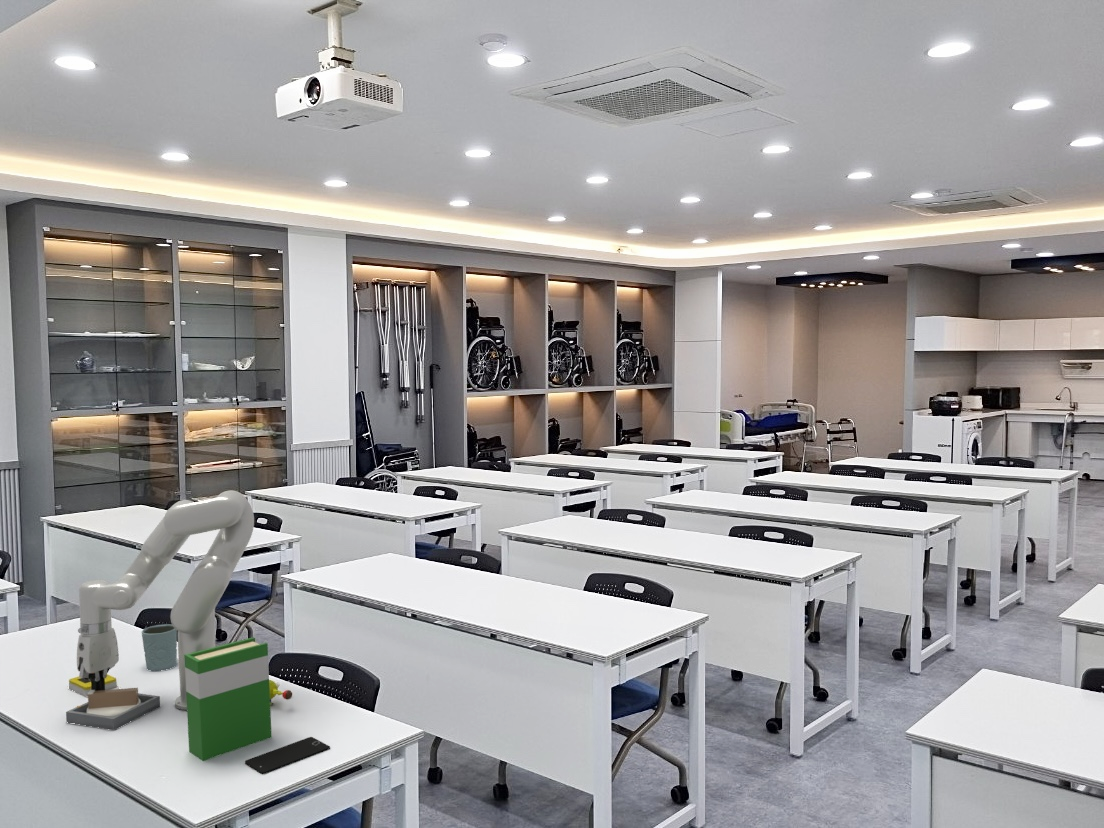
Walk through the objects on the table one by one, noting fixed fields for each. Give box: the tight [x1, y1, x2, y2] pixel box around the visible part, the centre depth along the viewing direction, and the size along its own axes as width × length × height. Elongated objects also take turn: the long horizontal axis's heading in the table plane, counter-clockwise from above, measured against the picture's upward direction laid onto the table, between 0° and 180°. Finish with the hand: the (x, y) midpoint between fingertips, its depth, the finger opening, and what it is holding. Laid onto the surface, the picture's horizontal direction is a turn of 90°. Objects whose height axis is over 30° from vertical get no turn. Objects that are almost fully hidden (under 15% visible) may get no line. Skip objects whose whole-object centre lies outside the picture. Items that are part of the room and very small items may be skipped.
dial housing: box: [65, 692, 161, 731], centre depth 241 cm, size 16×16×3 cm
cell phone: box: [244, 736, 331, 775], centre depth 214 cm, size 9×18×1 cm, turn 136°
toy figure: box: [269, 679, 293, 707], centre depth 245 cm, size 18×6×7 cm, turn 59°
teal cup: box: [141, 623, 178, 672], centre depth 278 cm, size 10×10×12 cm
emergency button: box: [68, 673, 120, 699], centre depth 261 cm, size 9×4×15 cm
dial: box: [87, 687, 141, 717], centre depth 240 cm, size 13×13×6 cm
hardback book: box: [184, 636, 272, 762], centre depth 220 cm, size 18×7×24 cm, turn 135°
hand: (98, 693), depth 242 cm, fingers closed
